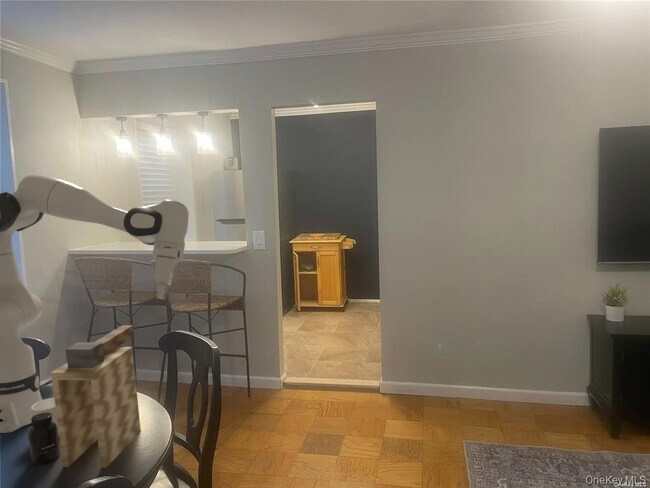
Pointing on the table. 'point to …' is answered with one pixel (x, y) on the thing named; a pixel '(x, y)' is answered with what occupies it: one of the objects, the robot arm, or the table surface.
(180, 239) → the robot arm
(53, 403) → the white cup
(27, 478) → the table surface
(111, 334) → the mallet
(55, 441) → the supplement bottle
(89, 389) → the stand
